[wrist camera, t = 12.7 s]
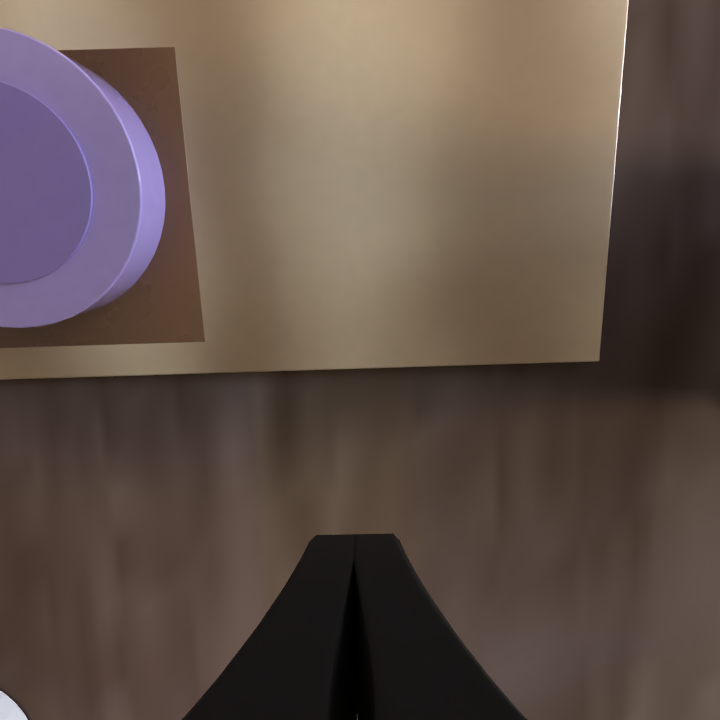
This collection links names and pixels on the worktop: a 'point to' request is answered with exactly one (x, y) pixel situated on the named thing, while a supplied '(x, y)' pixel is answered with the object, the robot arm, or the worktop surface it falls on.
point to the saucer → (70, 187)
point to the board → (351, 182)
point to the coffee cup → (10, 709)
